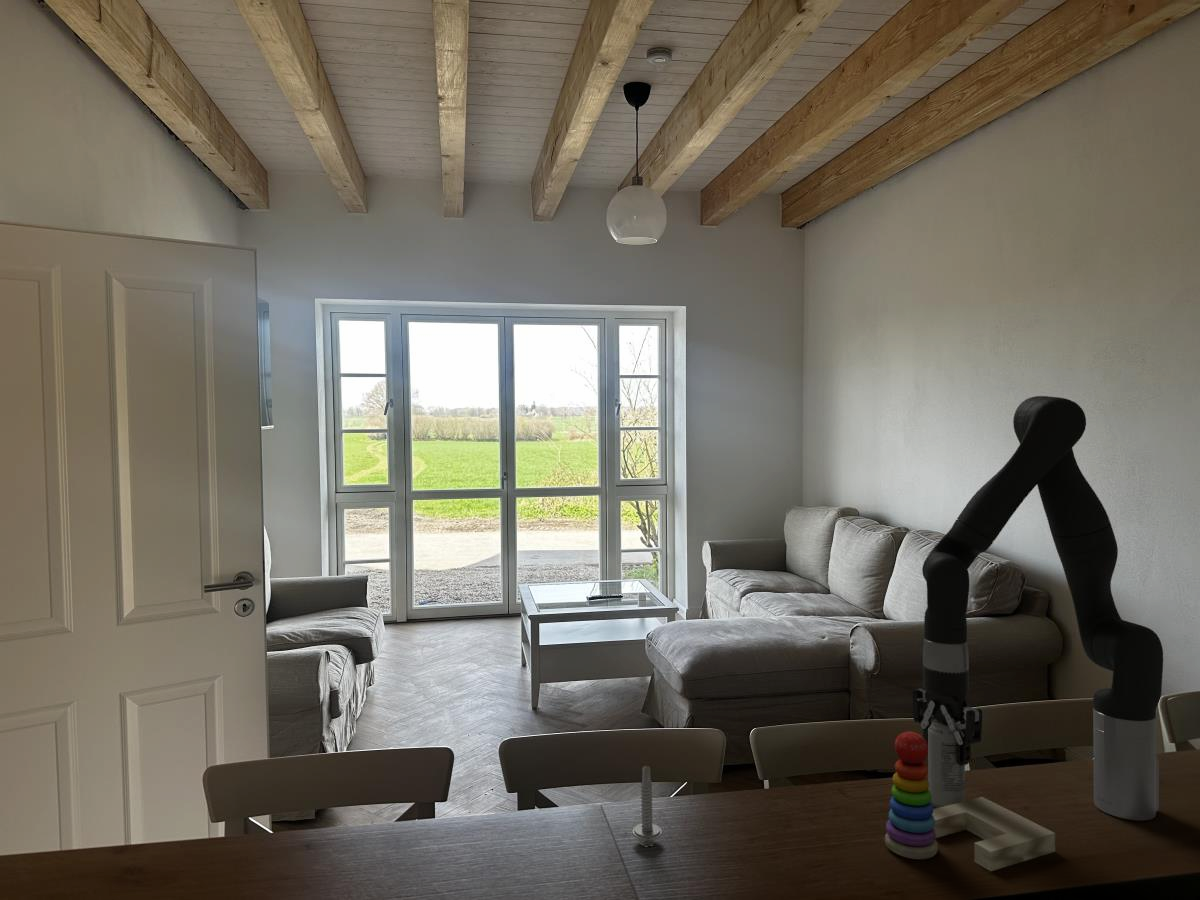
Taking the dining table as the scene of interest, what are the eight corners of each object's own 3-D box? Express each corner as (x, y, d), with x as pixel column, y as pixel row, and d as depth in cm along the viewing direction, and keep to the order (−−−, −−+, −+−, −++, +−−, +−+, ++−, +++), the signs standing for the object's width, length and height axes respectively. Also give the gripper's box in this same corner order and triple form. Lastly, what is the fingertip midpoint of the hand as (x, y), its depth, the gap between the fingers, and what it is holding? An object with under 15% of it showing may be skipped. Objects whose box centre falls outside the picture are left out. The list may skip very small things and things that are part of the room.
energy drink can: (952, 796, 146) (952, 715, 146) (972, 811, 140) (971, 727, 140) (922, 798, 145) (921, 717, 145) (940, 814, 139) (939, 729, 139)
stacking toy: (943, 864, 123) (942, 744, 123) (888, 859, 125) (887, 741, 124) (932, 838, 131) (931, 726, 131) (881, 834, 133) (880, 723, 132)
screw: (665, 838, 132) (657, 853, 128) (637, 834, 134) (628, 848, 129) (664, 761, 132) (656, 773, 127) (636, 757, 134) (627, 769, 129)
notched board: (982, 813, 139) (981, 796, 139) (1055, 851, 126) (1054, 833, 126) (920, 830, 134) (920, 812, 134) (990, 871, 121) (990, 851, 121)
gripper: (994, 672, 137) (995, 768, 137) (930, 652, 150) (931, 739, 151) (962, 678, 134) (962, 775, 134) (899, 657, 147) (900, 745, 148)
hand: (946, 756), depth 143 cm, fingers open, 7 cm apart
